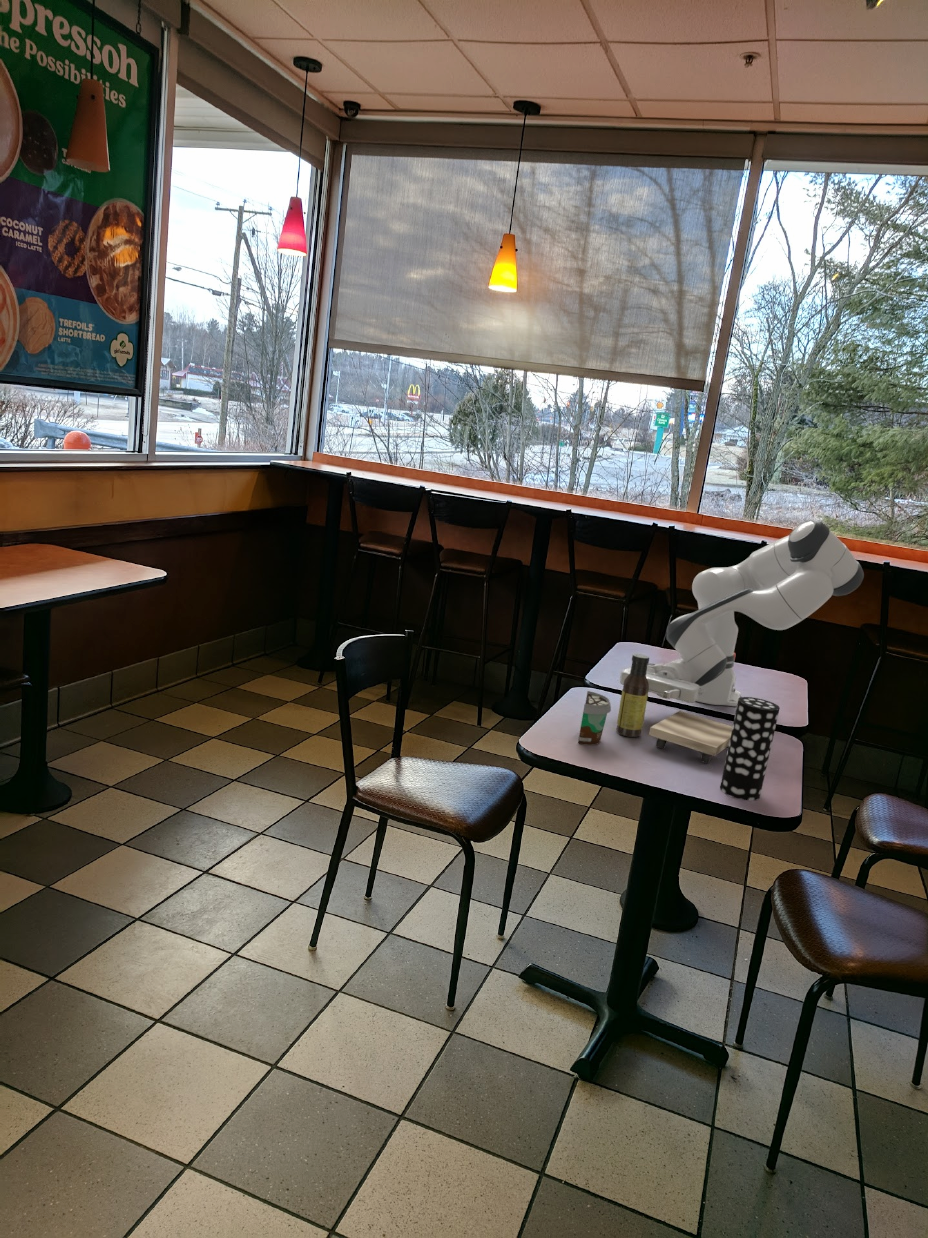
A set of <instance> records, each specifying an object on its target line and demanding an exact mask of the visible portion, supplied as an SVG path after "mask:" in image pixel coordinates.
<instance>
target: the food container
mask: <svg viewBox="0 0 928 1238" xmlns="http://www.w3.org/2000/svg"><path fill="white" fill-rule="evenodd" d="M585 698H586V699H585V703H584V704H583V705H584V707H583V711H582V712H583V713H582V717H581V722H580V730H579V735H578V741H577V744H578V743H579V744H578V745H585V746H588V745H589V746H590V745H597V743H598V744H600V742H601V739H602V736H603V732H604V728H605V723H606V719H607V716H608V713H609V714H610V713H611V711H612V709H611V708H612V707H611V704H612V703H611V700H610V698H608V697H606V695H603V694H601V693H598V692H594V691H590V690H587V692H586V697H585Z"/></svg>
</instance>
